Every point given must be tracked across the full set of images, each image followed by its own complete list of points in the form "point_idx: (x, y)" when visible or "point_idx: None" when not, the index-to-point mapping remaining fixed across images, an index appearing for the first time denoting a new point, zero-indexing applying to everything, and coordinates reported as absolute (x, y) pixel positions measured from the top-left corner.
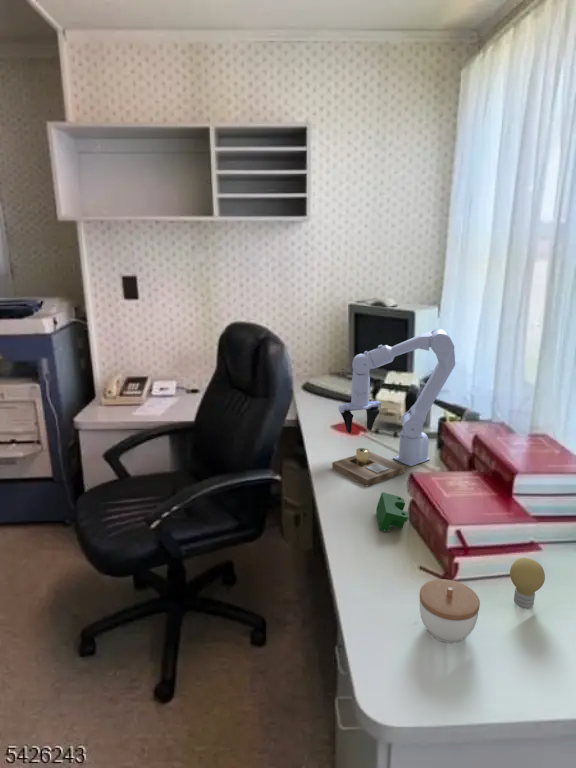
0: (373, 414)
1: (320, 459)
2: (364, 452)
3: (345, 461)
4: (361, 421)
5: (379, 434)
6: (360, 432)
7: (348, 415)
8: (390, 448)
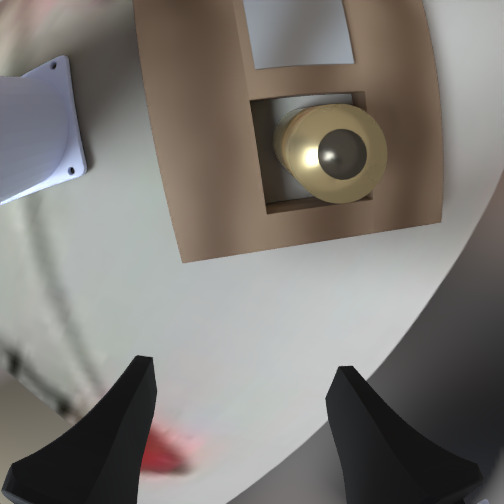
0: (91, 482)
1: (400, 309)
2: (357, 112)
3: (391, 199)
4: None
5: (59, 392)
6: None
7: (479, 478)
8: (51, 285)
